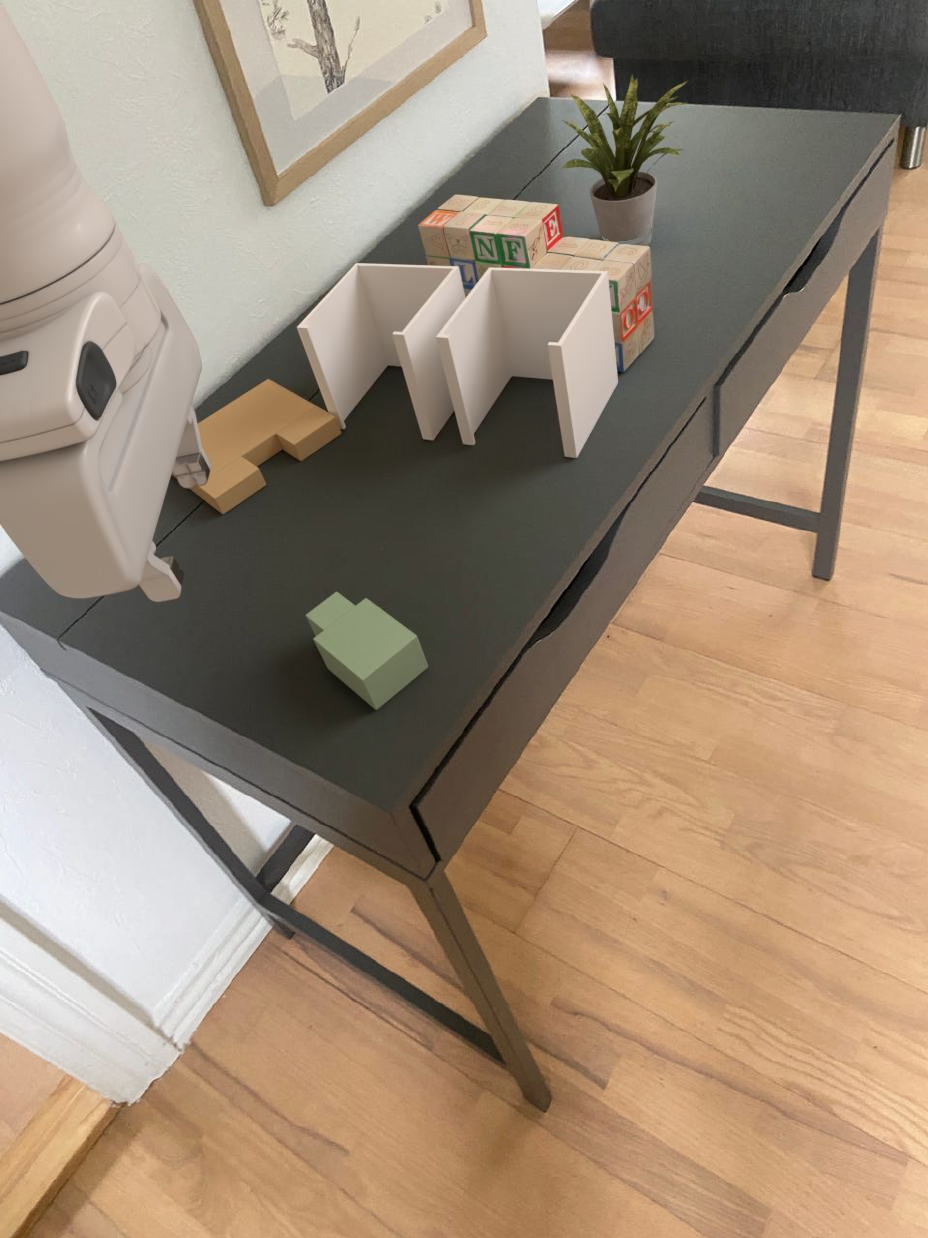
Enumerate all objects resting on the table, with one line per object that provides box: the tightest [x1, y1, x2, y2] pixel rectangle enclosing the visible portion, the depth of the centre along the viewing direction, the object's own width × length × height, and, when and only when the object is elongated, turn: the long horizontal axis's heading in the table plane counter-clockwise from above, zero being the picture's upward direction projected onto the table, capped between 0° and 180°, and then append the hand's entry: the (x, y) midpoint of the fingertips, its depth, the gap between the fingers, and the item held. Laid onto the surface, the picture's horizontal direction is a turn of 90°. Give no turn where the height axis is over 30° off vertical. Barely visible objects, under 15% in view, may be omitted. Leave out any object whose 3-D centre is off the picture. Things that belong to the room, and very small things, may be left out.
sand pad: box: [171, 378, 342, 515], centre depth 88 cm, size 14×12×2 cm
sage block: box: [305, 591, 429, 711], centre depth 66 cm, size 5×8×4 cm, turn 42°
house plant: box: [560, 73, 689, 246], centre depth 94 cm, size 14×14×16 cm
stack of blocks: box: [417, 194, 655, 373], centre depth 87 cm, size 21×6×12 cm, turn 54°
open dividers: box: [296, 262, 619, 459], centre depth 82 cm, size 25×11×11 cm, turn 65°
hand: (185, 531), depth 52 cm, fingers open, 8 cm apart
